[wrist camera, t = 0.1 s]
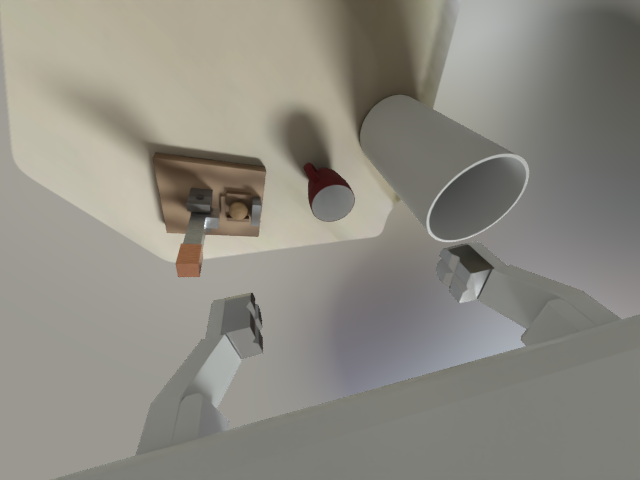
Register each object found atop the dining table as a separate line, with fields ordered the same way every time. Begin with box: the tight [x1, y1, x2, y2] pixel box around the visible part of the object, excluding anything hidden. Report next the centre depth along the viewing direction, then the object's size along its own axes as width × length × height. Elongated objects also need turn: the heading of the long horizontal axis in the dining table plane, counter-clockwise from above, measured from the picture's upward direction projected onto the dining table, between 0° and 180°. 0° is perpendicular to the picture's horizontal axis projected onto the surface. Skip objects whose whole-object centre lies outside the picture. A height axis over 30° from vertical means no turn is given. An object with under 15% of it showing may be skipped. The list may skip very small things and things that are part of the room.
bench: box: [153, 153, 266, 237], centre depth 46 cm, size 16×18×7 cm
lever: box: [176, 208, 220, 277], centre depth 40 cm, size 3×5×14 cm, turn 76°
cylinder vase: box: [360, 95, 529, 242], centre depth 38 cm, size 12×12×25 cm
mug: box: [304, 163, 355, 222], centre depth 47 cm, size 11×8×10 cm
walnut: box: [229, 202, 248, 220], centre depth 48 cm, size 4×4×4 cm
